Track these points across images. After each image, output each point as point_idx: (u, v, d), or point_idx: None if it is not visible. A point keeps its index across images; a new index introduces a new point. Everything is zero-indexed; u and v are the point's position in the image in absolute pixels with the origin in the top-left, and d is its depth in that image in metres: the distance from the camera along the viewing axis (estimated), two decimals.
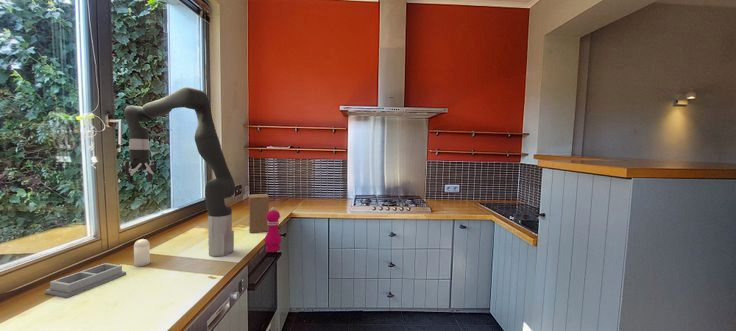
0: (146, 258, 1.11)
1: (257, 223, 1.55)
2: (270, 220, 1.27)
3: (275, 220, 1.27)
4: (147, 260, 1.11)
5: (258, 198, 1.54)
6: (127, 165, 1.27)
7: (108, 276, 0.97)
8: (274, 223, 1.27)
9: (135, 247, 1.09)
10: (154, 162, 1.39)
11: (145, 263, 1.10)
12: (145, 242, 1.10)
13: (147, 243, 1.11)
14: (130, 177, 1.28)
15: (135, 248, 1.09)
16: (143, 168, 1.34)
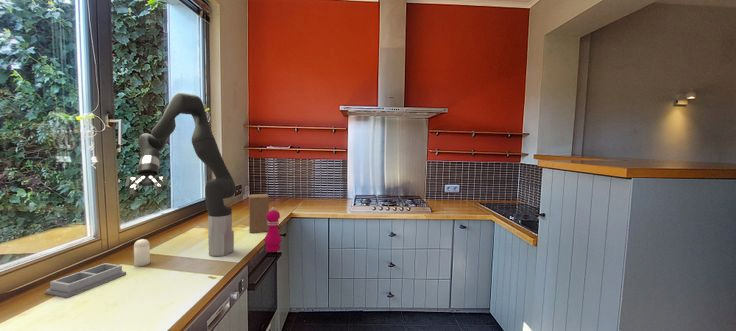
0: (146, 258, 1.11)
1: (257, 223, 1.55)
2: (270, 220, 1.27)
3: (275, 220, 1.27)
4: (147, 260, 1.11)
5: (258, 198, 1.54)
6: (128, 179, 1.20)
7: (108, 276, 0.97)
8: (274, 223, 1.27)
9: (135, 247, 1.09)
10: (164, 176, 1.27)
11: (145, 263, 1.10)
12: (145, 242, 1.10)
13: (147, 243, 1.11)
14: (131, 190, 1.18)
15: (135, 248, 1.09)
16: (148, 181, 1.23)
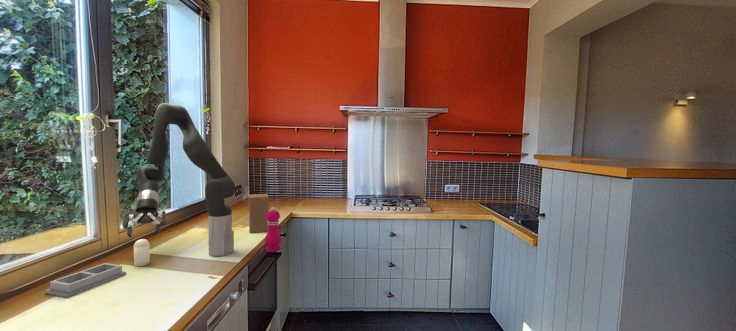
0: (146, 258, 1.11)
1: (257, 223, 1.55)
2: (270, 220, 1.27)
3: (275, 220, 1.27)
4: (147, 260, 1.11)
5: (258, 198, 1.54)
6: (126, 217, 1.16)
7: (108, 276, 0.97)
8: (274, 223, 1.27)
9: (135, 247, 1.09)
10: (163, 212, 1.23)
11: (145, 263, 1.10)
12: (145, 242, 1.10)
13: (147, 243, 1.11)
14: (128, 229, 1.14)
15: (135, 248, 1.09)
16: (147, 219, 1.19)
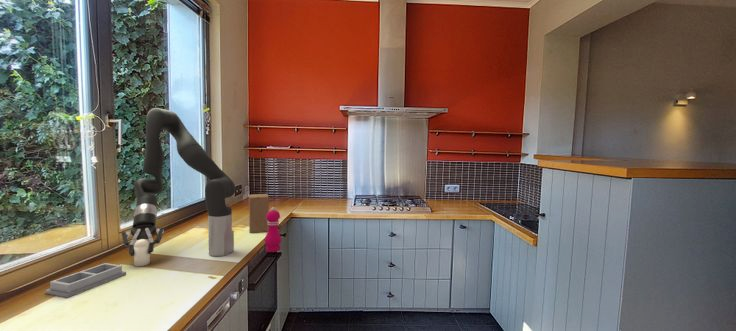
0: (146, 258, 1.11)
1: (257, 223, 1.55)
2: (270, 220, 1.27)
3: (275, 220, 1.27)
4: (147, 260, 1.11)
5: (258, 198, 1.54)
6: (123, 235, 1.10)
7: (108, 276, 0.97)
8: (274, 223, 1.27)
9: (135, 247, 1.09)
10: (161, 229, 1.17)
11: (145, 263, 1.10)
12: (145, 242, 1.10)
13: (147, 243, 1.11)
14: (130, 247, 1.09)
15: (135, 248, 1.09)
16: (143, 234, 1.13)
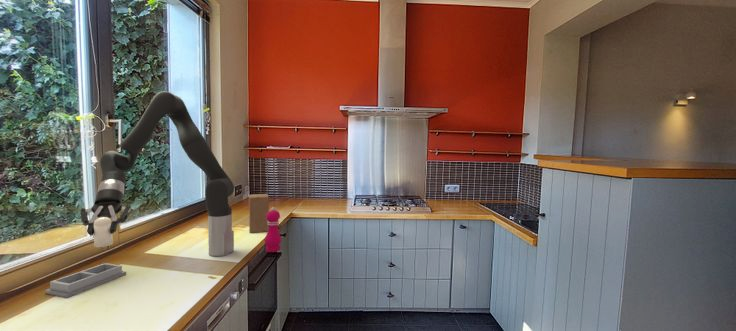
0: (108, 238, 0.99)
1: (257, 223, 1.55)
2: (270, 220, 1.27)
3: (275, 220, 1.27)
4: (109, 240, 0.99)
5: (258, 198, 1.54)
6: (82, 212, 0.98)
7: (108, 276, 0.97)
8: (274, 223, 1.27)
9: (94, 225, 0.97)
10: (127, 207, 1.05)
11: (106, 244, 0.98)
12: (106, 220, 0.98)
13: (109, 221, 0.99)
14: (89, 225, 0.97)
15: (94, 226, 0.97)
16: (105, 212, 1.01)
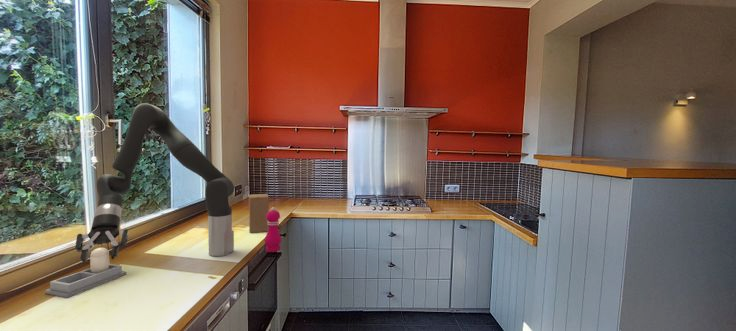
0: (105, 269, 0.98)
1: (257, 223, 1.55)
2: (270, 220, 1.27)
3: (275, 220, 1.27)
4: None
5: (258, 198, 1.54)
6: (78, 238, 0.97)
7: (108, 276, 0.97)
8: (274, 223, 1.27)
9: (91, 257, 0.96)
10: (125, 231, 1.04)
11: None
12: (103, 251, 0.97)
13: (106, 252, 0.98)
14: (82, 252, 0.96)
15: (91, 258, 0.96)
16: (104, 238, 1.00)
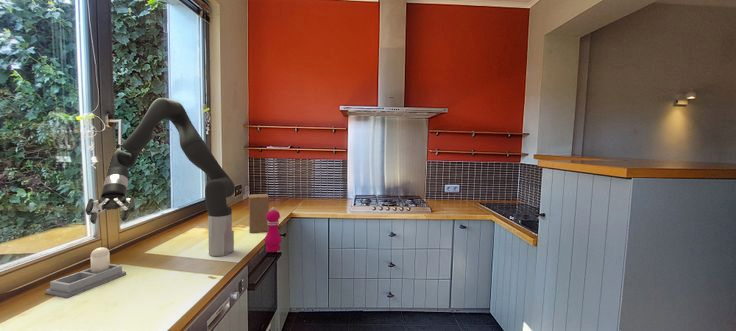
0: (105, 270, 0.98)
1: (257, 223, 1.55)
2: (270, 220, 1.27)
3: (275, 220, 1.27)
4: None
5: (258, 198, 1.54)
6: (89, 202, 1.08)
7: (108, 276, 0.97)
8: (274, 223, 1.27)
9: (92, 257, 0.96)
10: (131, 198, 1.15)
11: None
12: (104, 251, 0.97)
13: (106, 252, 0.98)
14: (92, 215, 1.06)
15: (92, 258, 0.96)
16: (113, 204, 1.11)
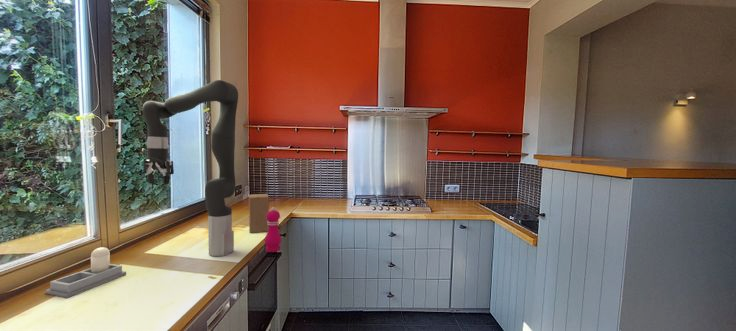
0: (105, 270, 0.98)
1: (257, 223, 1.55)
2: (270, 220, 1.27)
3: (275, 220, 1.27)
4: None
5: (258, 198, 1.54)
6: (144, 164, 1.25)
7: (108, 276, 0.97)
8: (274, 223, 1.27)
9: (92, 256, 0.96)
10: (166, 163, 1.22)
11: None
12: (104, 251, 0.97)
13: (106, 252, 0.98)
14: (148, 176, 1.25)
15: (92, 258, 0.96)
16: (157, 168, 1.23)
